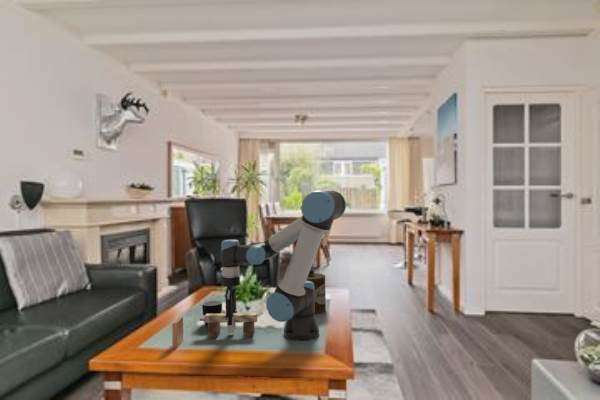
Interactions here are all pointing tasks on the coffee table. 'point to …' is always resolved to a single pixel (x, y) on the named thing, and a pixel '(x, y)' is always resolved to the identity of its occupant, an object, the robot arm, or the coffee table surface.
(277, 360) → the coffee table surface
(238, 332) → the coffee table surface
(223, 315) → the beige stone bar
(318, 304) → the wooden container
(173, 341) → the tile
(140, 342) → the coffee table surface
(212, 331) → the tool rest
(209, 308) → the mug
